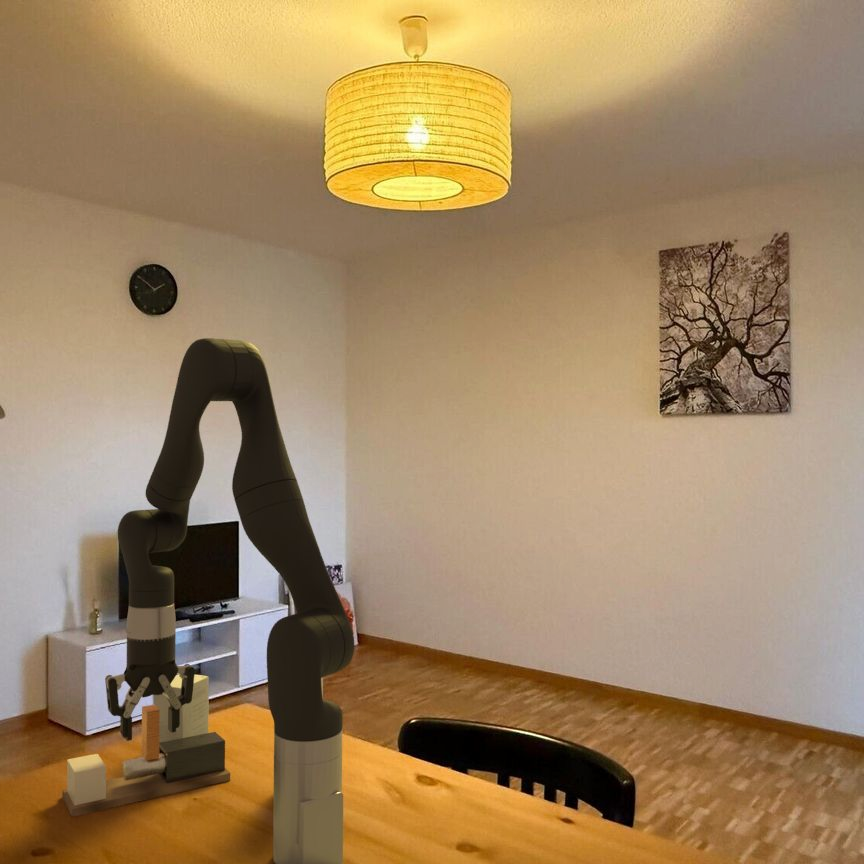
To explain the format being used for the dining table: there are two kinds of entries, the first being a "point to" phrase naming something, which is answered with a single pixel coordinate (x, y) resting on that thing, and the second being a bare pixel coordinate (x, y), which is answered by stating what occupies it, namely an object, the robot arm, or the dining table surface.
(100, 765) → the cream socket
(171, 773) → the dark hollow rectangular block
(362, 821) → the dining table surface
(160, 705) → the small box
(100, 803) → the walnut board
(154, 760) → the sliding bolt
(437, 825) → the dining table surface
